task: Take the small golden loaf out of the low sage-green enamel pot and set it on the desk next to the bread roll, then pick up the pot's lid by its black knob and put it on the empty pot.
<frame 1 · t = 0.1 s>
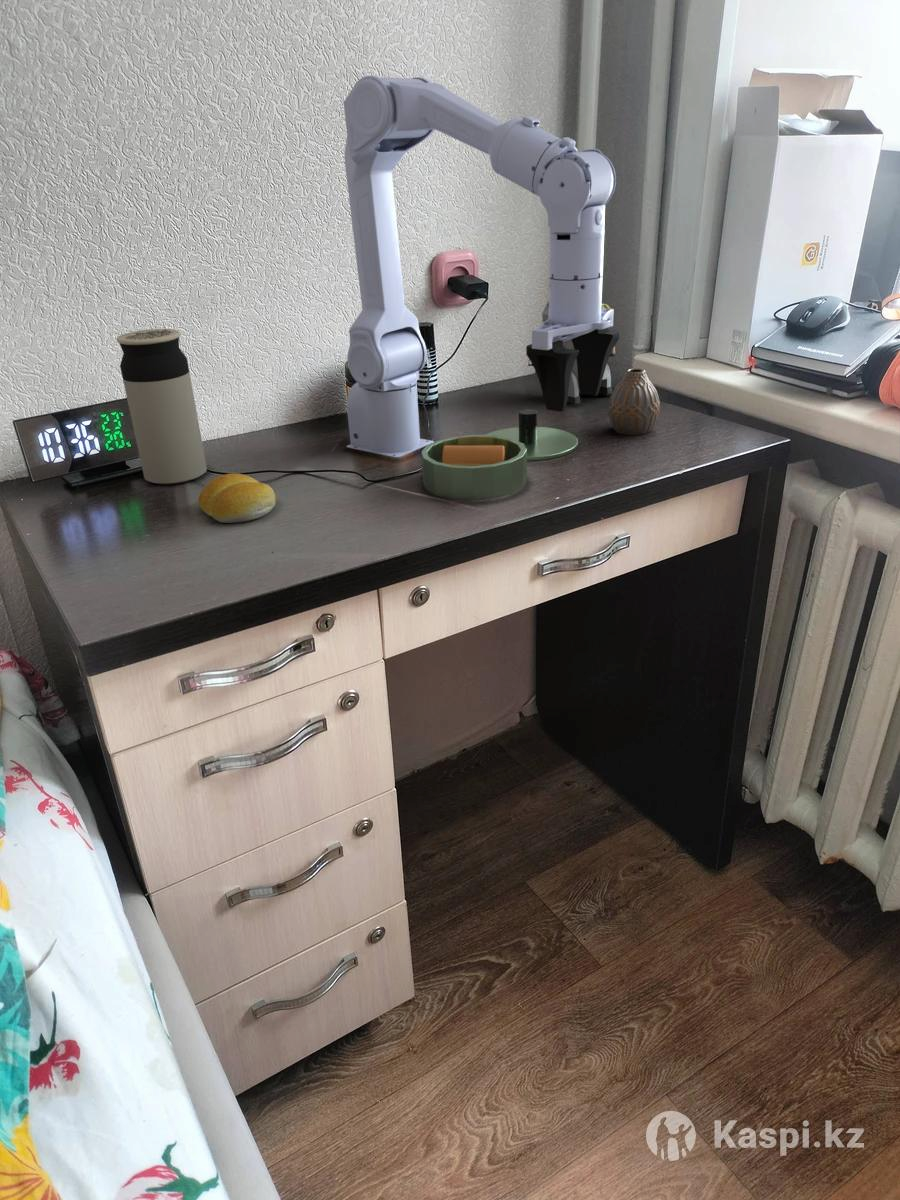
hand: (572, 401, 100), 10 cm above the table, tool pointing down, fingers open, 7 cm apart
figurine: (573, 398, 140), on the table
bread roll: (238, 511, 102), on the table
vase: (632, 434, 122), on the table
travel mug: (176, 476, 114), on the table
pot: (474, 485, 106), on the table
lid: (527, 444, 117), point 1 cm above the table
loaf: (474, 482, 106), resting on pot
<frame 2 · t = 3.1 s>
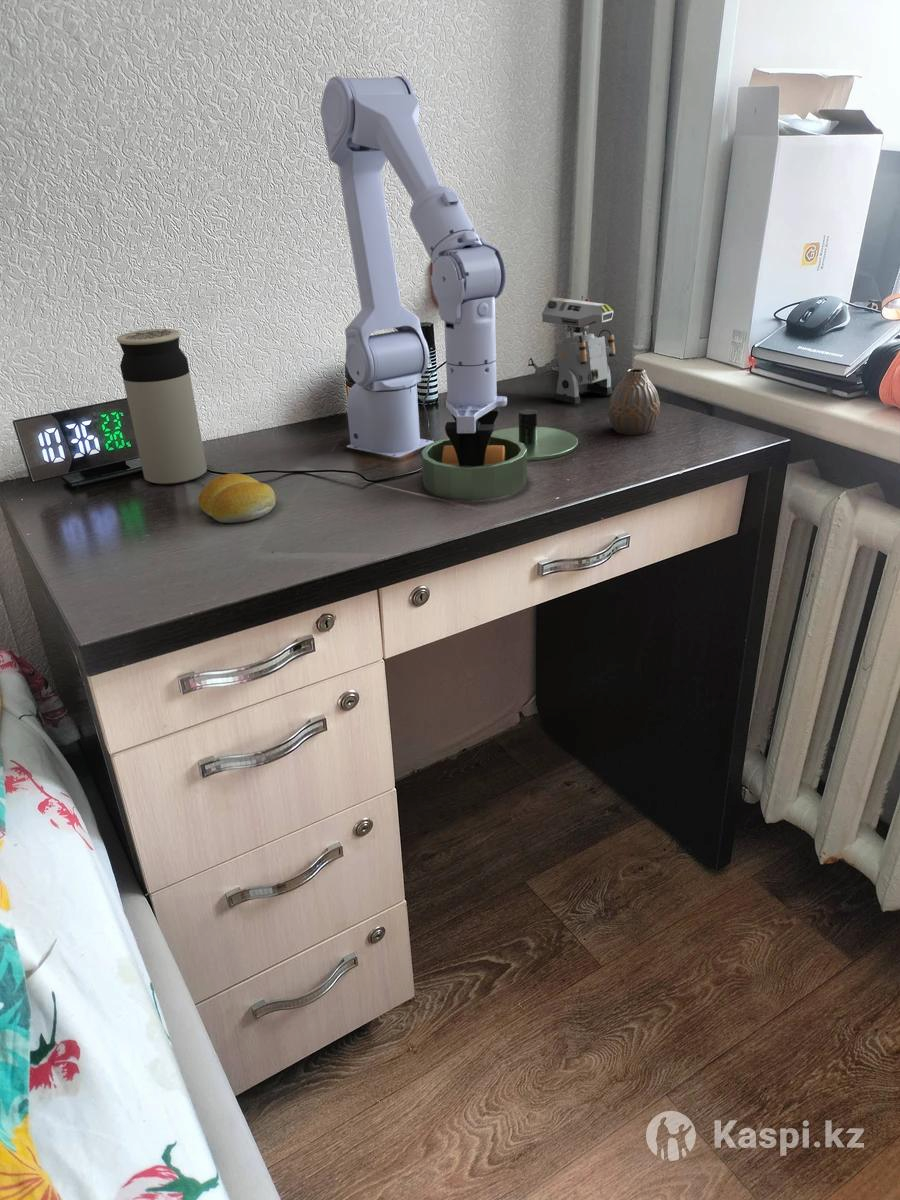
hand: (474, 474, 105), 1 cm above the table, tool pointing down, fingers closed on loaf, 4 cm apart
loaf: (474, 482, 106), resting on pot, touching gripper
everything else where it was.
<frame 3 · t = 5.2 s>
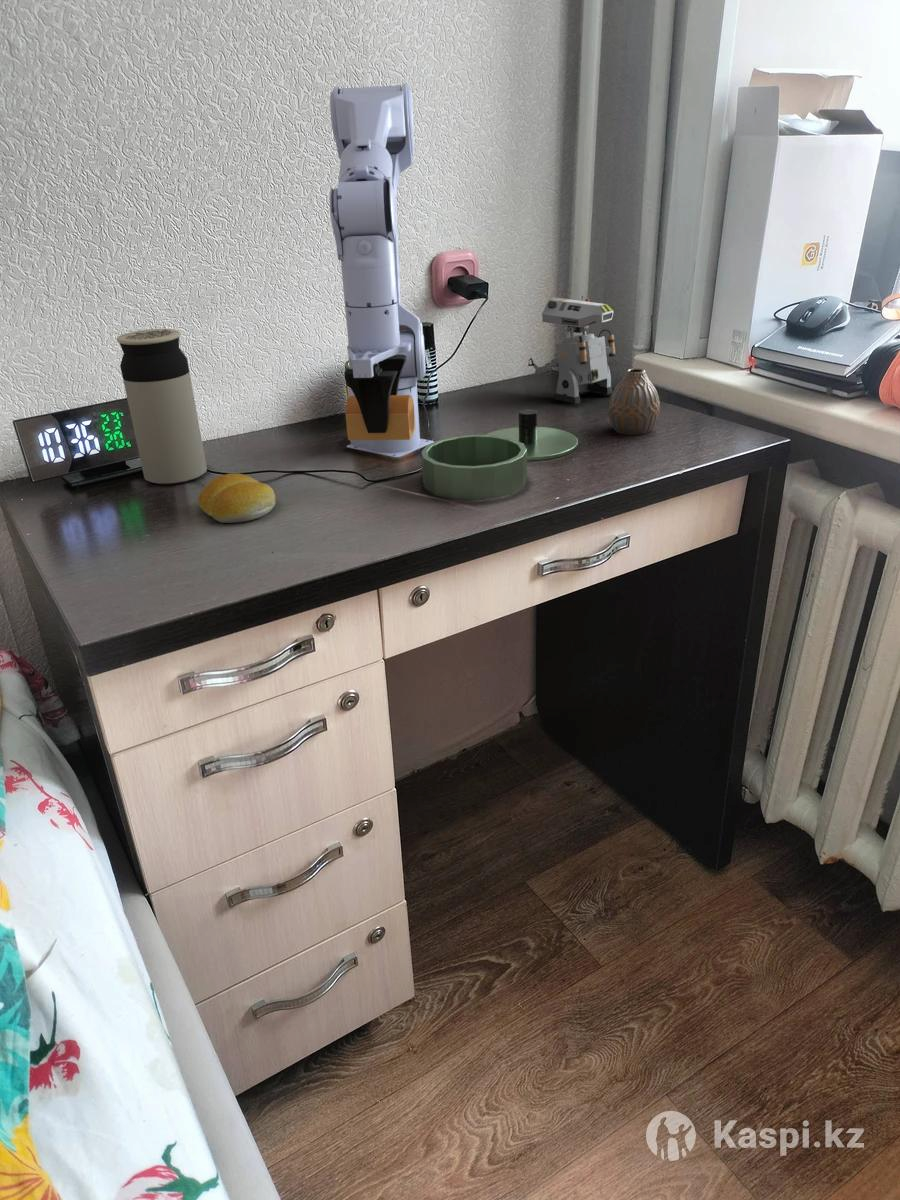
hand: (381, 426, 100), 8 cm above the table, tool pointing down, fingers closed on loaf, 4 cm apart
loaf: (382, 434, 101), point 7 cm above the table, touching gripper
everything else where it was.
when the fingers open (1 cm above the table, at t = 7.8 s): loaf stays where it is, on the table.
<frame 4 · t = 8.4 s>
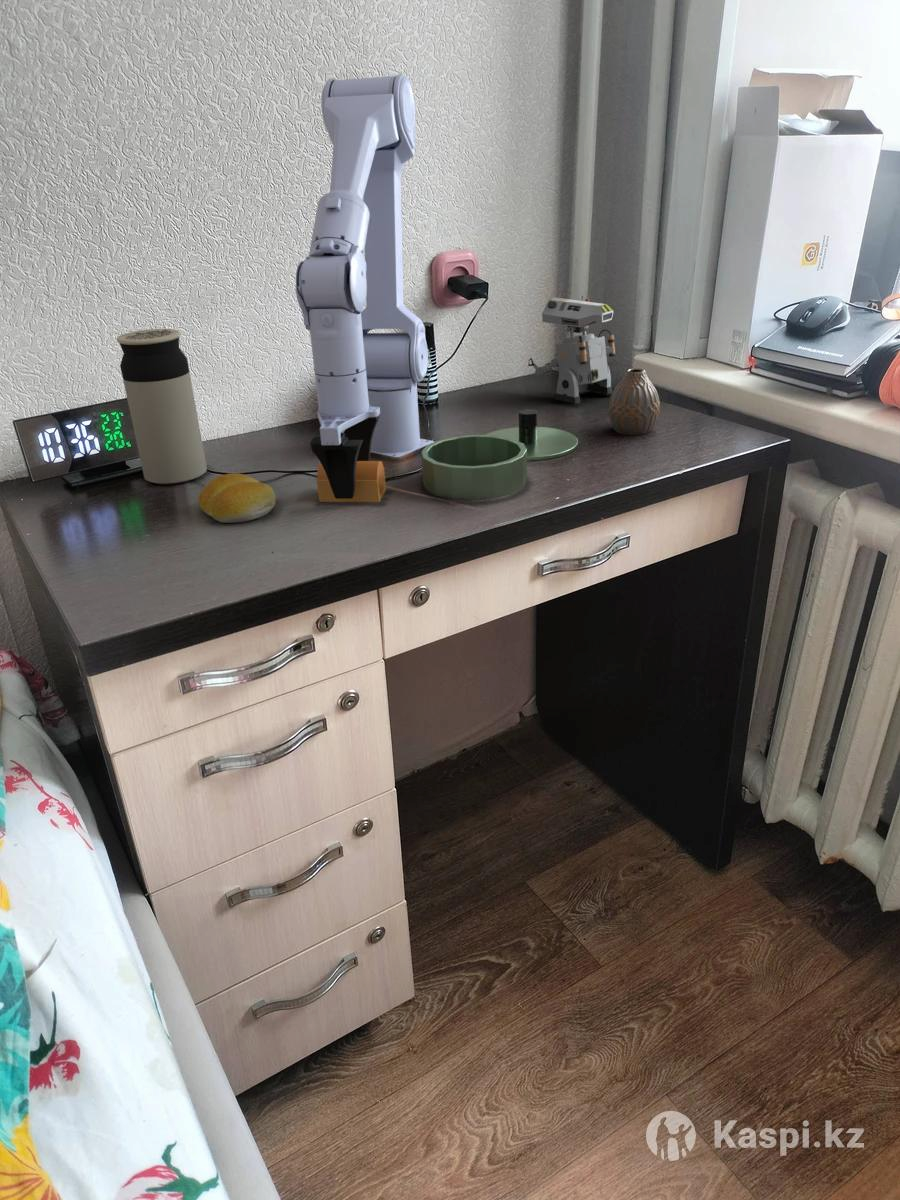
hand: (351, 485, 103), 2 cm above the table, tool pointing down, fingers open, 7 cm apart
loaf: (353, 498, 104), on the table
everything else where it was.
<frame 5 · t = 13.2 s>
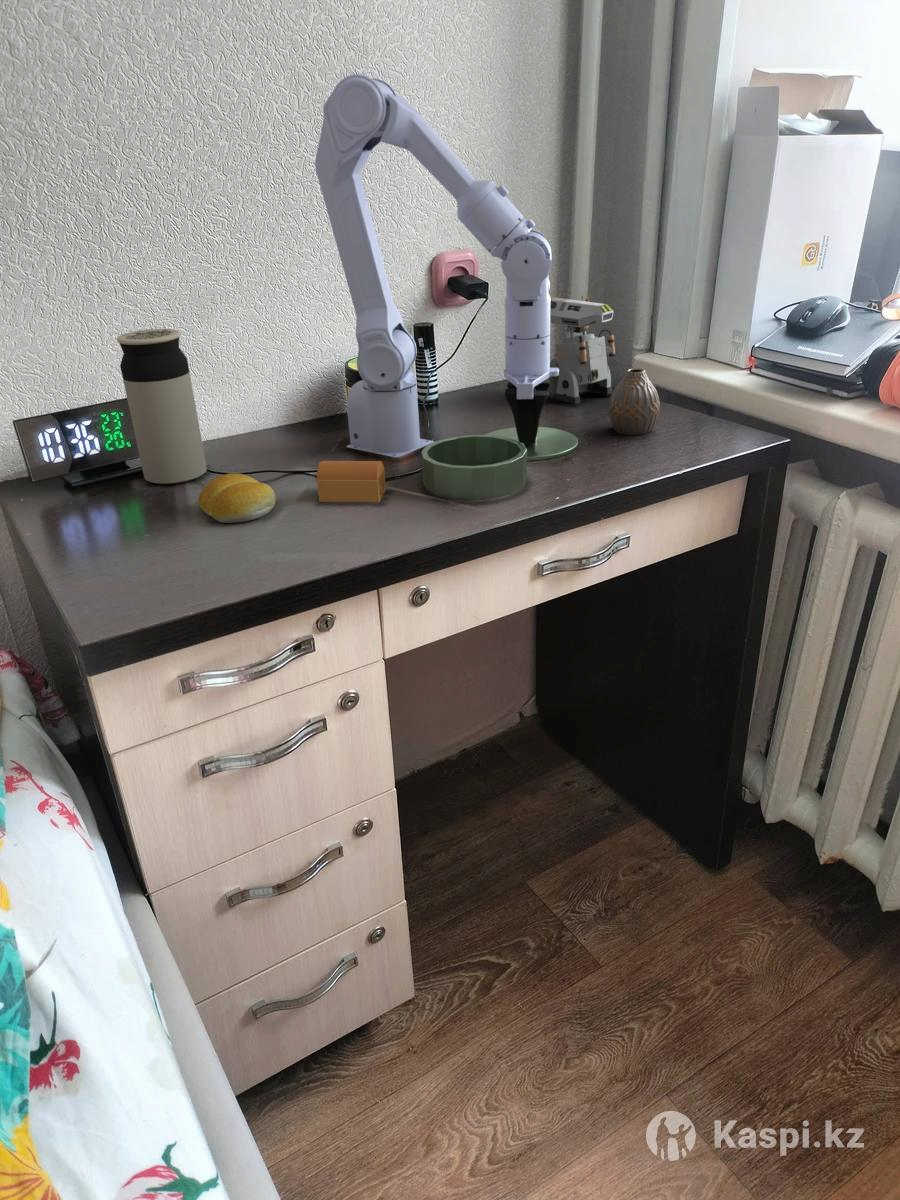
hand: (527, 438, 117), 1 cm above the table, tool pointing down, fingers closed on lid, 2 cm apart
lid: (527, 444, 117), point 1 cm above the table, touching gripper
everything else where it was.
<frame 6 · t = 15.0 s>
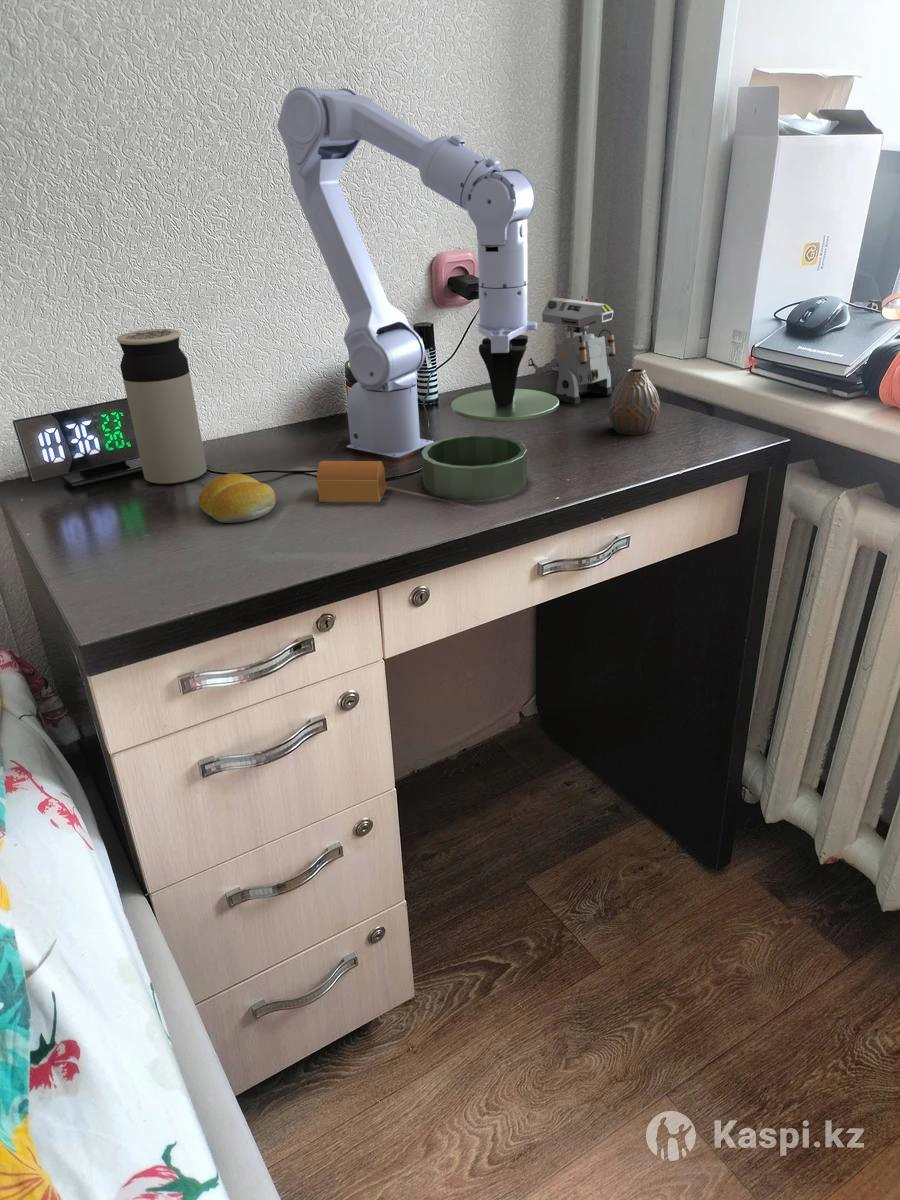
hand: (504, 399, 108), 8 cm above the table, tool pointing down, fingers closed on lid, 2 cm apart
lid: (504, 406, 109), point 8 cm above the table, touching gripper
everything else where it was.
when the fingers open (5 cm above the table, at t = 17.0 s): lid stays where it is, resting on pot.
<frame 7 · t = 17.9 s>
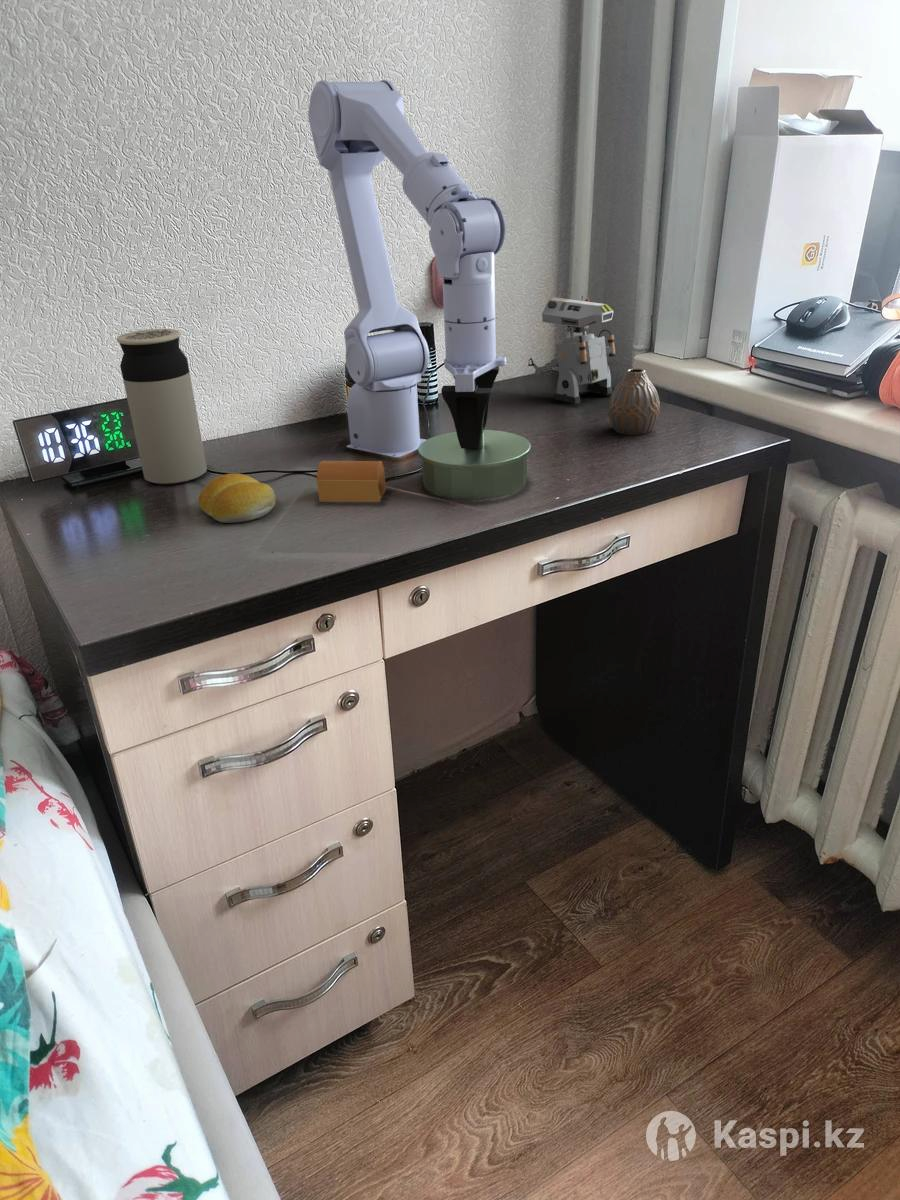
hand: (473, 437, 103), 6 cm above the table, tool pointing down, fingers open, 7 cm apart
lid: (474, 450, 104), point 4 cm above the table, touching pot
everything else where it was.
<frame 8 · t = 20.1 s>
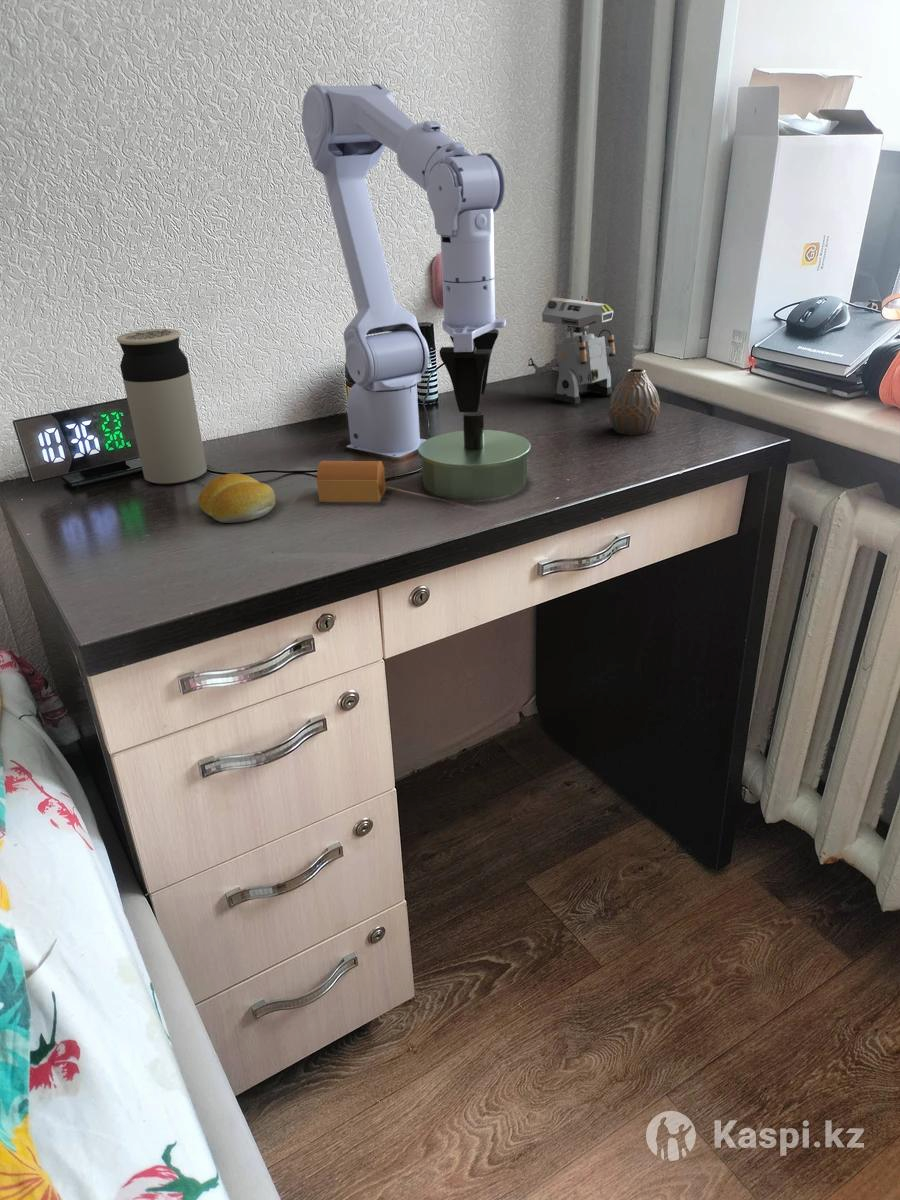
hand: (472, 402, 101), 10 cm above the table, tool pointing down, fingers open, 7 cm apart
nothing on the table moved.
at the end: loaf inside the target area (0.0 cm from its centre), on the table; lid 0.0 cm off-centre on the pot, point 4.4 cm above the pot's base; lid tilted 0° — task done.
